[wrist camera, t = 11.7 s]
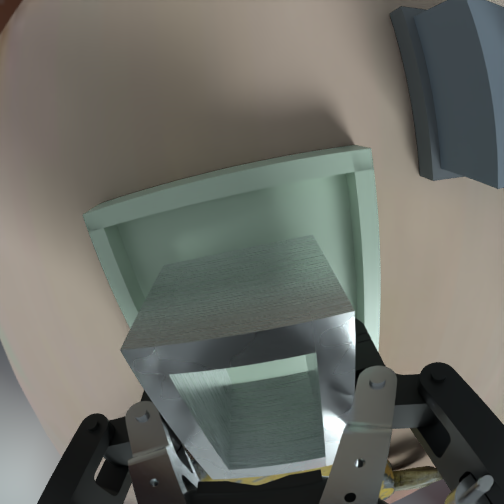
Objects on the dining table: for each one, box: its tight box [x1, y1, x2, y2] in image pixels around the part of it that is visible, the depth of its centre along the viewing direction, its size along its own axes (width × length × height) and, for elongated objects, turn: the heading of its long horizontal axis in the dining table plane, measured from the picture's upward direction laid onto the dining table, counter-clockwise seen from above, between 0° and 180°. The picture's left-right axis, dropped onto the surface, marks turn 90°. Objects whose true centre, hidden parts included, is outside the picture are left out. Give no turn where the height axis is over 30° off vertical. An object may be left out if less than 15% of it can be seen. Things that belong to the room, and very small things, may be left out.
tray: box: [83, 145, 380, 384], centre depth 14 cm, size 12×14×2 cm
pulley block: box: [191, 459, 443, 500], centre depth 20 cm, size 14×6×30 cm
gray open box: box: [120, 235, 355, 479], centre depth 11 cm, size 6×8×5 cm
